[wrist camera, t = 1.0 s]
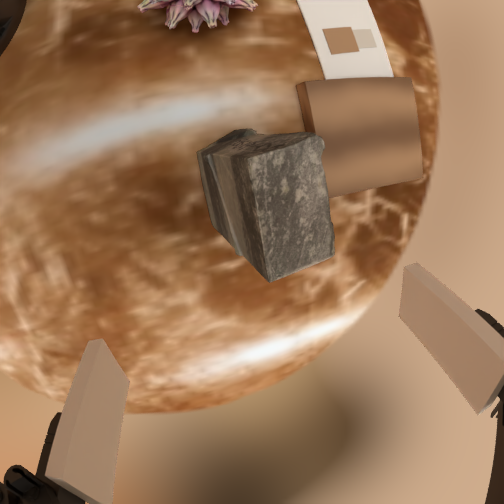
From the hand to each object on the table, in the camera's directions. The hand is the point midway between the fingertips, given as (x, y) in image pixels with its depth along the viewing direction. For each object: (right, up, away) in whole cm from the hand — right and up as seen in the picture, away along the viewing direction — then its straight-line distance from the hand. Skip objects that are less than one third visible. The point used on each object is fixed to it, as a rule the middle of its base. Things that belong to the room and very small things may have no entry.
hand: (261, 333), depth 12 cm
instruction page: (+10, +27, +13) cm, 32 cm away
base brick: (+12, +17, +18) cm, 27 cm away
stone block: (-1, +12, +18) cm, 22 cm away
